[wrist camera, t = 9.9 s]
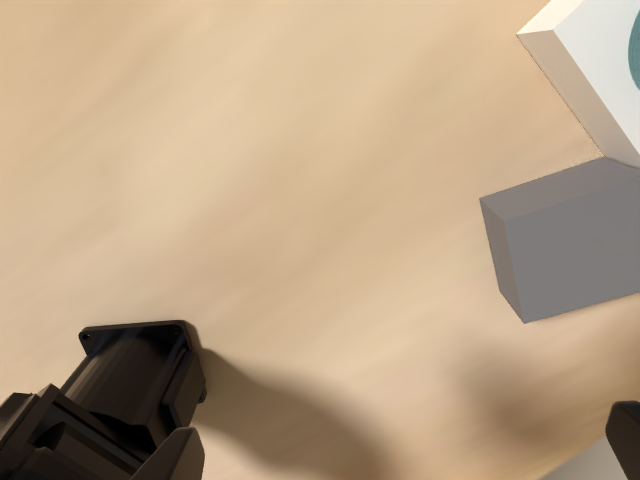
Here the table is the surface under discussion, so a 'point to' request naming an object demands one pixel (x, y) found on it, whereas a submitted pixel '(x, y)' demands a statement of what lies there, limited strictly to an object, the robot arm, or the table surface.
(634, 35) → the canister
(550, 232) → the grey square block
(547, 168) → the table surface
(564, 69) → the pale block
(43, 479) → the robot arm
